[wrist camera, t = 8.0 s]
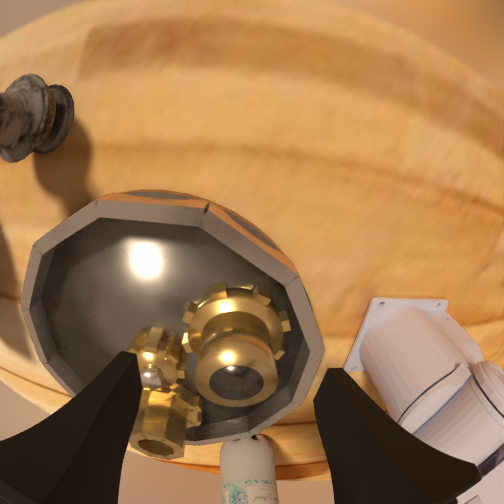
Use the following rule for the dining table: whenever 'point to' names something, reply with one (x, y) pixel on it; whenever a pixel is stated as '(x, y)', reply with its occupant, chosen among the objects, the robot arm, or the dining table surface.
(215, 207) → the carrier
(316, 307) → the dining table surface
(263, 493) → the bottle
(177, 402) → the planet gear
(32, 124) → the grey chess piece
